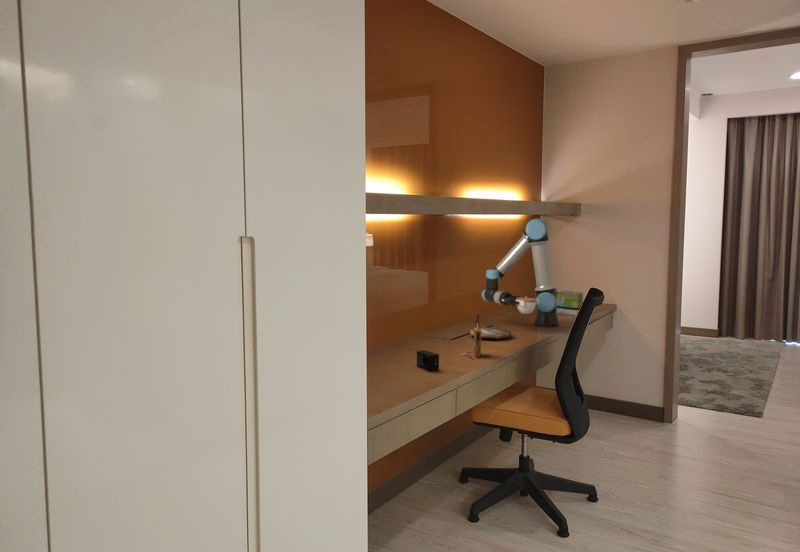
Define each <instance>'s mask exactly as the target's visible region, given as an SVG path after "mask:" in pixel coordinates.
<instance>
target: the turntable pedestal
mask: <svg viewBox="0 0 800 552" xmlns="http://www.w3.org/2000/svg"><path fill="white" fill-rule="evenodd" d="M481 339H485V340H498V339H499V338H482V337H481Z"/></svg>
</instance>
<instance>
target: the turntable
mask: <svg viewBox="0 0 800 552" xmlns="http://www.w3.org/2000/svg"><path fill="white" fill-rule="evenodd" d="M479 328H480V329H481V337H482V338H481V339H484V338H498V339H504V338H509V337H510V336H511V334H512V331H510V330H509V329H506V328H501V327H500V328H499V327H488V326H487V327H479ZM469 334H470V336H473V337H474V328H471V329H470V330H469Z"/></svg>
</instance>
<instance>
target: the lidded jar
mask: <svg viewBox="0 0 800 552" xmlns="http://www.w3.org/2000/svg"><path fill="white" fill-rule="evenodd" d="M524 297H525V298H517V300H521V301H525V306H520V305H516V307H517V309H518V311H519V312H520V313H521V314H532V313H533V312H534V311H535V309H536V298H535V297H532V298H530V297H529V298H527V297H528V295H525V296H524Z"/></svg>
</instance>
